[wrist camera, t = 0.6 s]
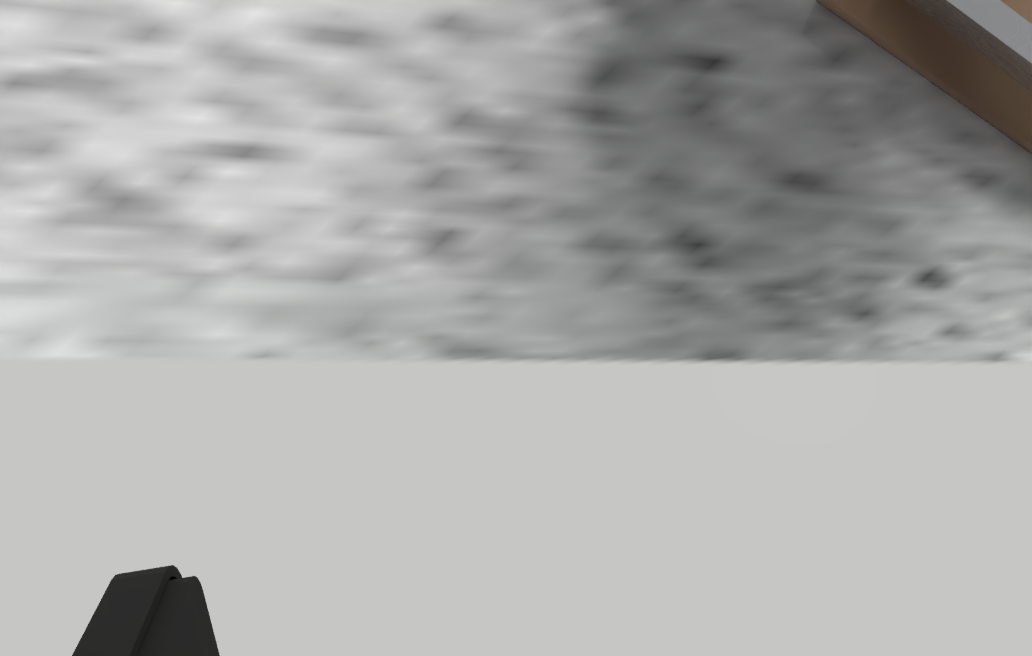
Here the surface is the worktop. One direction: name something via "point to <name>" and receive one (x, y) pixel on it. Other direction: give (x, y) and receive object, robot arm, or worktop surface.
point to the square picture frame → (987, 32)
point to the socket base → (946, 60)
